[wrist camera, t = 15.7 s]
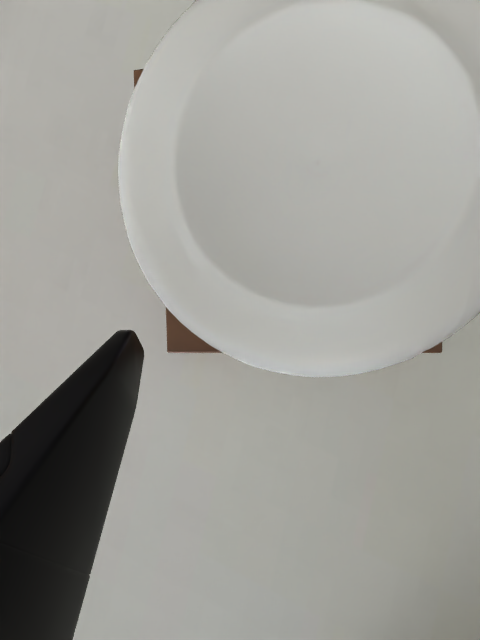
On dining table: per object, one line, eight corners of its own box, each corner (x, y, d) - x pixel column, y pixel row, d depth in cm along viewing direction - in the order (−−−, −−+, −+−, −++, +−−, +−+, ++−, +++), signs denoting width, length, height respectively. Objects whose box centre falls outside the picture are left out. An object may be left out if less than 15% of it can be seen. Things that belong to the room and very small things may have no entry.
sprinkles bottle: (229, 266, 17) (21, 138, 4) (304, 204, 17) (362, -202, 3) (288, 340, 17) (280, 474, 4) (366, 280, 16) (702, 178, 3)
